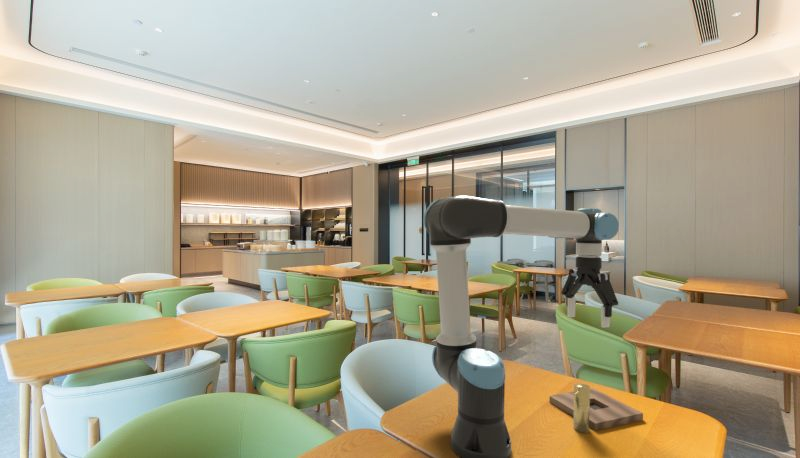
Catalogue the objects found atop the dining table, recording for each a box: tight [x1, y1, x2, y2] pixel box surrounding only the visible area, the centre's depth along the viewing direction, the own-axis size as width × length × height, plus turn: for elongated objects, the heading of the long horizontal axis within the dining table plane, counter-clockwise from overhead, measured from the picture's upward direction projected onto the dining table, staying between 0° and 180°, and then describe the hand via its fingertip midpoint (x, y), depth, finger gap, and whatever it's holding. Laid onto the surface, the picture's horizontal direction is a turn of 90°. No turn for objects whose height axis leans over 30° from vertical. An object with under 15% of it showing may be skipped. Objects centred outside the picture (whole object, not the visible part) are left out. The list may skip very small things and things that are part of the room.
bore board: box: [549, 387, 644, 431], centre depth 116 cm, size 18×18×2 cm
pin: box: [573, 382, 591, 434], centre depth 106 cm, size 4×4×12 cm
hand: (587, 321), depth 123 cm, fingers open, 13 cm apart
